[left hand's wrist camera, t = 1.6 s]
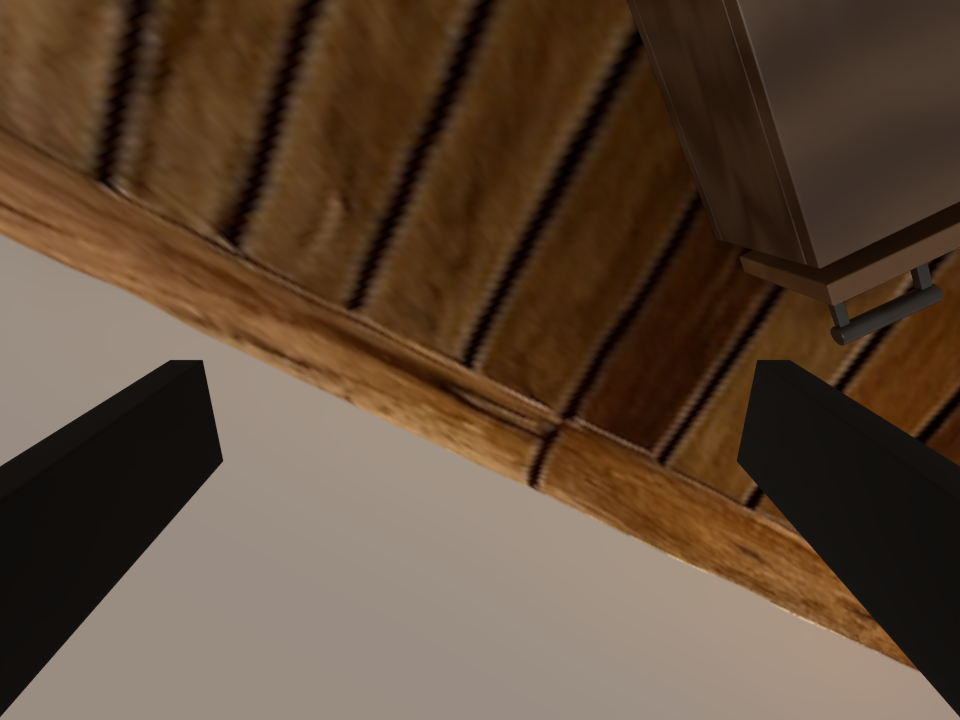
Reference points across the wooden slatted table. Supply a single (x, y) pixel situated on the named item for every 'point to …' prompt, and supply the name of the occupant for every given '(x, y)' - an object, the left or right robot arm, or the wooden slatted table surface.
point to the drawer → (869, 273)
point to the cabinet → (811, 115)
